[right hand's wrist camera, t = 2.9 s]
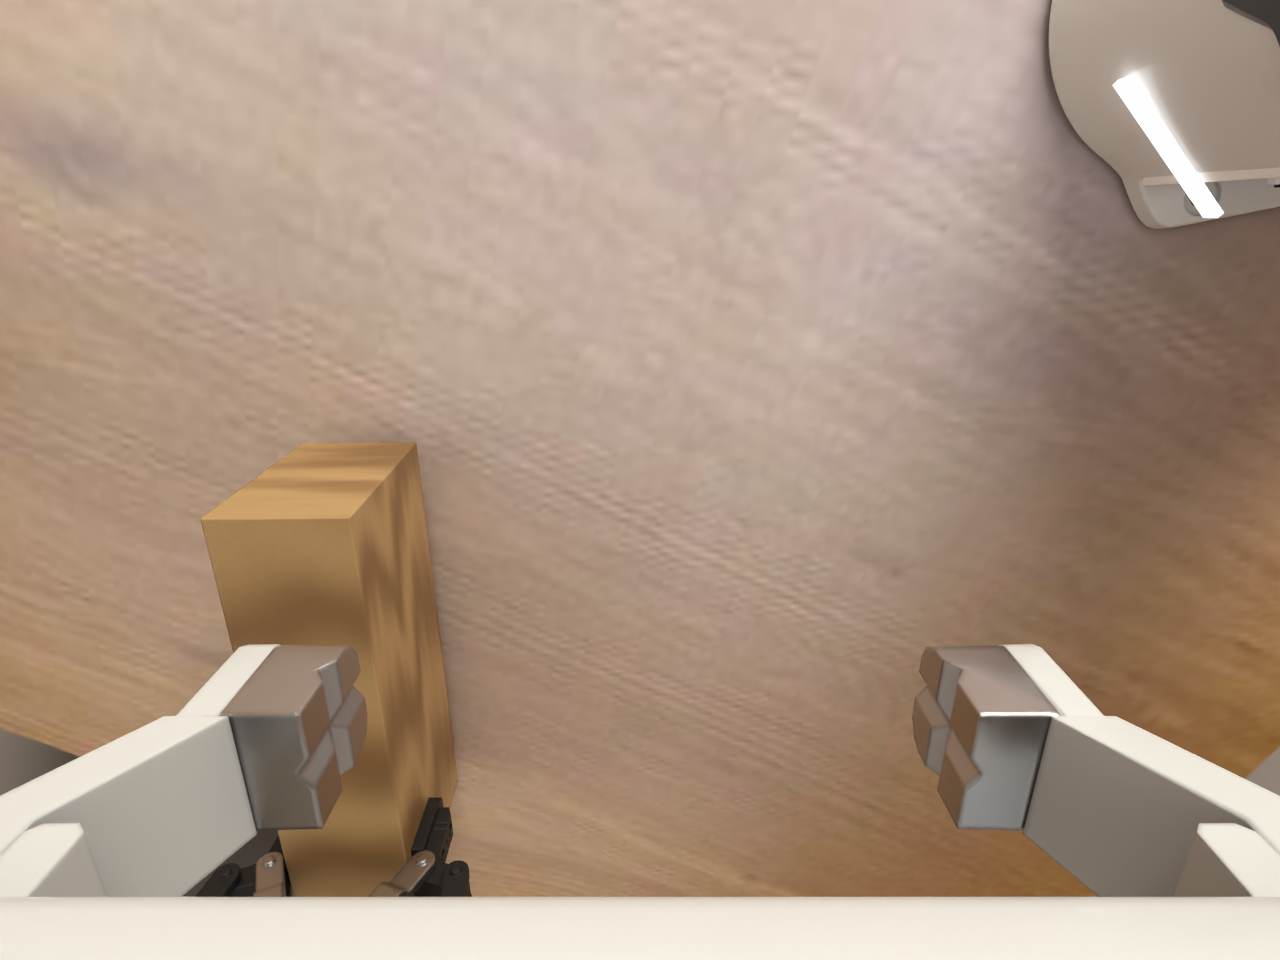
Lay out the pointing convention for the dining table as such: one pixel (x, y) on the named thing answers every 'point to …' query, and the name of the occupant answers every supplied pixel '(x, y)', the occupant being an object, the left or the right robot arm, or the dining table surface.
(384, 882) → the left robot arm
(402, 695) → the box
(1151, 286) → the dining table surface
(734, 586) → the dining table surface
